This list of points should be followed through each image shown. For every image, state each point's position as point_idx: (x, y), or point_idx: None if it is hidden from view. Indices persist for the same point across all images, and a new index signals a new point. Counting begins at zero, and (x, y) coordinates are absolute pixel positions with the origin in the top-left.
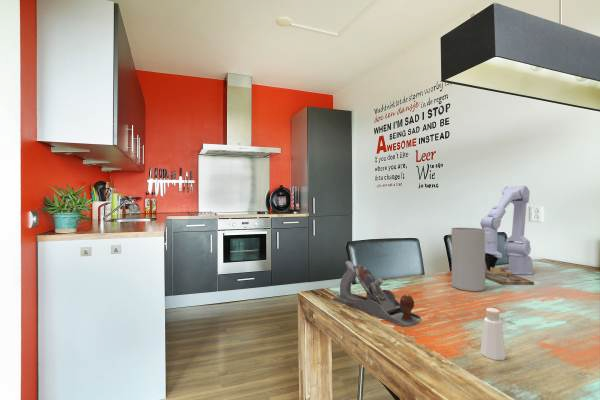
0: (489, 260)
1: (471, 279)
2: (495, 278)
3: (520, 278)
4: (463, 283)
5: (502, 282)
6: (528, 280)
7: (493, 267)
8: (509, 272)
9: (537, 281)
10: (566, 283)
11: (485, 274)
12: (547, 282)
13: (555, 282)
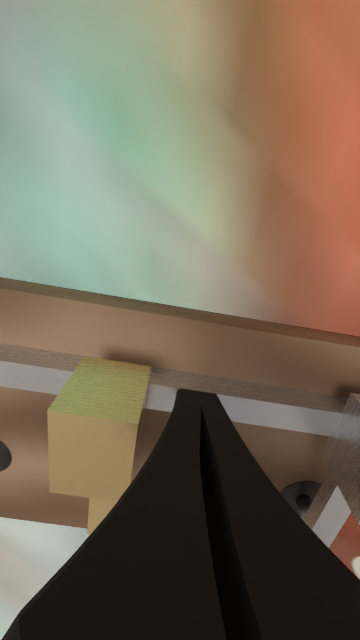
0: (93, 545)
1: None
2: (52, 324)
3: (51, 506)
4: None
5: None
6: None
7: (98, 442)
8: (91, 517)
9: (51, 554)
10: (9, 619)
11: (243, 355)
12: (27, 576)
13: (28, 600)
